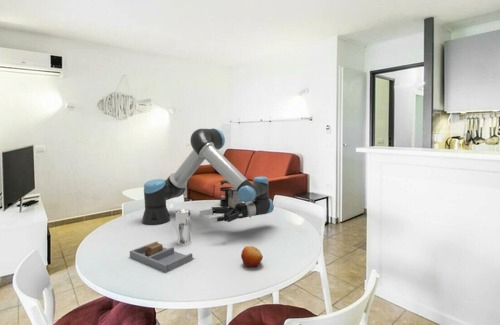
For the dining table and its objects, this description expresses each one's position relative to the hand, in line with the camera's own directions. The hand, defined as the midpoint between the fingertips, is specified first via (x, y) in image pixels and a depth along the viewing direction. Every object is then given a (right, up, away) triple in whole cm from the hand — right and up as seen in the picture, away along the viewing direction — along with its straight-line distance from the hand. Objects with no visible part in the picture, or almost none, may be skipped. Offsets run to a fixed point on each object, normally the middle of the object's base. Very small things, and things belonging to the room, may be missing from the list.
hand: (204, 216), depth 135 cm
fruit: (+22, -14, -26) cm, 36 cm away
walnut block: (-18, -12, -16) cm, 27 cm away
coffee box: (+12, -7, +42) cm, 44 cm away
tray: (-14, -13, -19) cm, 27 cm away
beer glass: (-9, -12, -3) cm, 15 cm away
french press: (+5, -4, +66) cm, 66 cm away
